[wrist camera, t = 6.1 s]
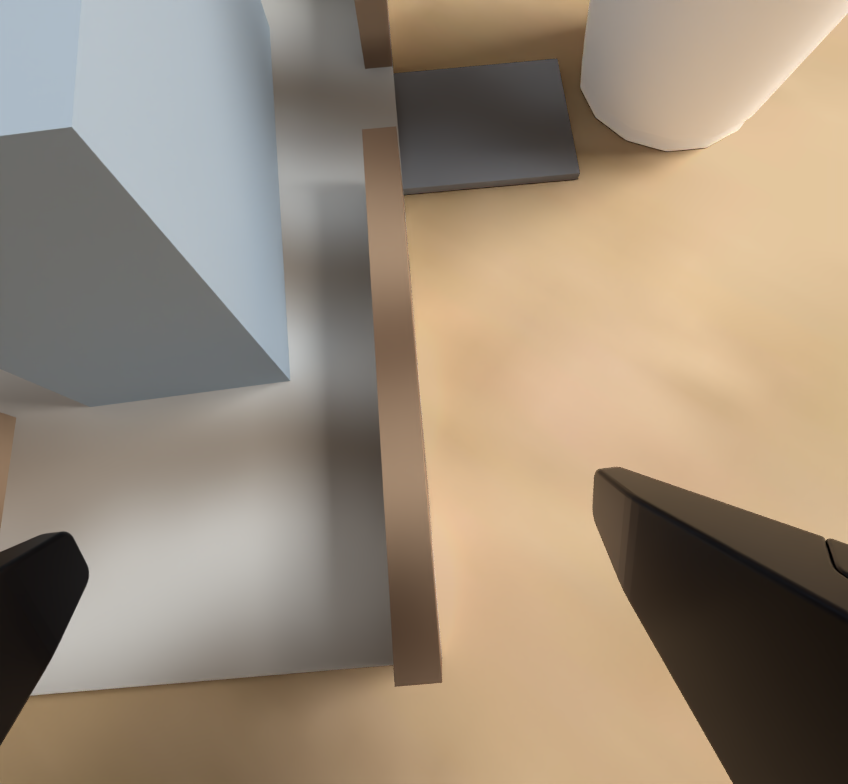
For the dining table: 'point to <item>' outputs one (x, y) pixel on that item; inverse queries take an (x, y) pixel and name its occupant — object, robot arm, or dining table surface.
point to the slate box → (139, 199)
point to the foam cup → (694, 63)
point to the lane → (287, 397)
